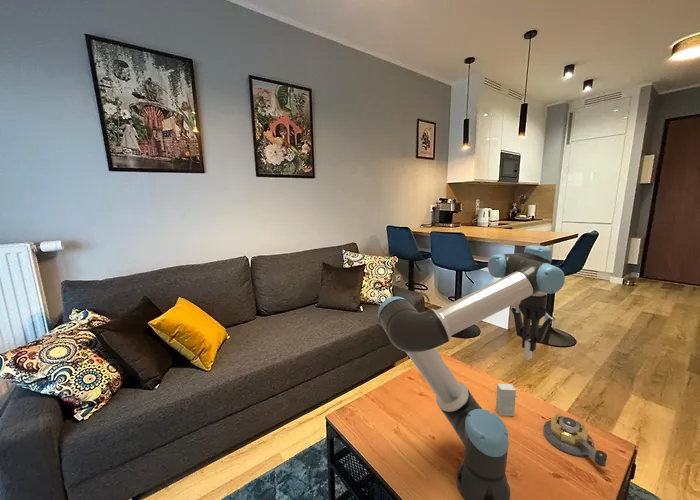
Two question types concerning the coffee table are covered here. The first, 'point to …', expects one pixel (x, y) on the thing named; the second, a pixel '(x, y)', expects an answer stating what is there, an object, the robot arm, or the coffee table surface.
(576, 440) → the ball lever
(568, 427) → the housing
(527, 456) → the coffee table surface
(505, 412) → the skincare box
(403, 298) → the robot arm
